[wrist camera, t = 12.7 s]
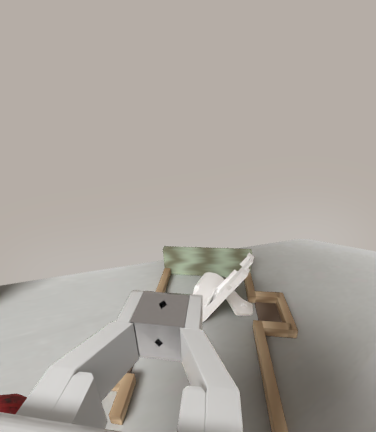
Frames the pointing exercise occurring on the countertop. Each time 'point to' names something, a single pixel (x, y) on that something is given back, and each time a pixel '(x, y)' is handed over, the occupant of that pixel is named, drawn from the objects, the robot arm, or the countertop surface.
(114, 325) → the robot arm
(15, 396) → the onion
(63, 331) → the countertop surface
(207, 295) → the plastic part
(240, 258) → the trap lane
